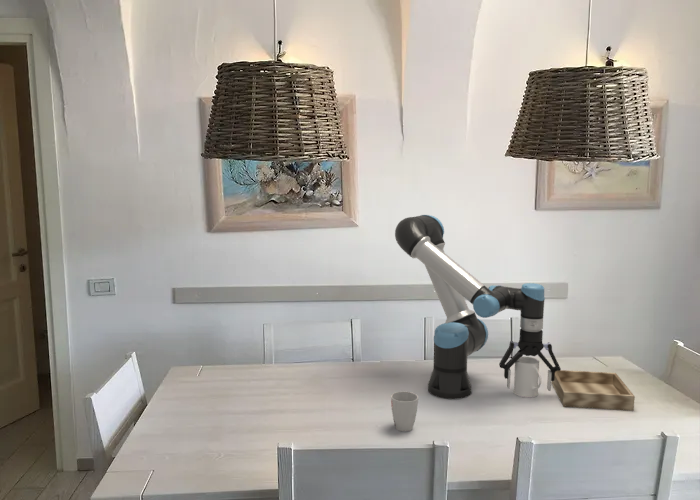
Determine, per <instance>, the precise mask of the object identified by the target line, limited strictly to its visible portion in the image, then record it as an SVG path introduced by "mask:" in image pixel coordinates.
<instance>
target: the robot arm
mask: <svg viewBox="0 0 700 500" xmlns="http://www.w3.org/2000/svg"><path fill="white" fill-rule="evenodd" d="M443 225H444V224H443V223H442V221H441V220H440V219H439V218H437V217H435V216H433V215H430V214H421V215H417V216H409V217H405V218H403V219H402V220H400V221H399V222H398V224H397V225H396V228H395V230H394V237H395V240H396V243H397V244H398V246H399V247H400V248H401V250H402V251H403V252H405V254H407V255H408V256H409V257H411V258H412V259H418V260H419V261H420V262H421V263H422V264H424V267H425V269H426V272H427V273H428V276H429V278H430V281H431V283H432V286H433V288H434V290H435V293H436V296H437V297H438V300H439V303H440V305H441V306H442V309H443V311H444V314H445V316H446V320H445V322H444V323H442V324H439V325H438V326H436V327H435V329H434V334H433V366H432V367H433V368H432V372H431V375H430V377H429V381H428V383H427V392H428V393H430V395H432V396H434V397H437V398H440V399H445V400H459V399H465V398H468V397H469V396H471V395H472V383H471V380H470V376H469V374H468V356H471V355H472V354H474V353H475V352H478V351H480V350H481V349H482V348H483V347H484V346H485V345H486V343H487V341H488V340H489V330H488V327H487V325H486V324H485V322H484V321H483V320H481V319H480V318H484V319H485V318H490V317H494V316H496V315H497V314H498V313H500V312H502V311H505V310H514V311H520V320H519V327H520V329H519V338H518V339H519V340H518V342H516V341H513V340H510V341H509V345H508V348H507V350H506V351H505V353H504V354H503V357H502V358H501V360H500V362H499V364H498V365H499V368H500V369H503V370H504V371H503V376H504V379H506V388H507V389H511V367H512V366H514V365H515V362H516V361H517V360H518V359H519V358H520V357H523V356H525V357H536V356H538V357H539V359H540V360H542V362H543V363H544V364H545V365H546V367H547V368H548V370H547V383H546V384H547V385H546V389H547V391H548V392H551V391H552V390H551V389H552V383H551V382H552V381H554V378H555V372H556V371H560V370H562V369H561V366H560V364H559V362H558V360H557V358H556V356H555V353H554V351H553V345H552V343H551V342H547V343H543V335H544V334H543V333H544V331H543V329H544V309H545V299H546V297H545V287H544V285H542V284H541V283H534V282H533V283H531V282H529V283H528V282H525V283H523V284H522V285H521V287H518V288H517V287H509V286H503V285H494V284H493V285H490V286H489V287H487V286H485V285H484V284H483V283H482V282H481V281H480V280H478V278H476V277H475V276H473V274H471V273H470V272H469V271H468V270H466V269H465V268H464V267H462V266H461V265H460V264H459V263H458V262H456V261H455V260H454V259H453V258H451V257H450V256H449V255H448V254H447V253H445V251H444V248H445V244H446V242H445V240H444V234H445V229H444V226H443ZM466 301H468V302H469V303H470V304H472V307H473V308H472V309H473V310H471V309H470V308H469V307H468V303H467V302H466ZM477 316H478V317H480V318H478V317H477ZM517 347H518V351H517V352H516V353H515V354H514V355H513V356H512V357H511V355H512V353H513V351H514V350H515V349H516V348H517ZM543 349H545V350H546V351H547V352H548V354H549V356H550V358H551V360H552V362H553V365H554V366H553V365H552V364H551V363H550V361H549V360H548V359H547V358H546V357H545V355H544V354H543V353H542V351H543ZM510 357H511V358H510ZM509 358H510V359H509Z"/></svg>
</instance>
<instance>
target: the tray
mask: <svg viewBox="0 0 700 500" xmlns="http://www.w3.org/2000/svg"><path fill="white" fill-rule="evenodd" d="M551 386H552V387H553V389H554V391H555V393H556V396H557V397H558V399H559V401H560V403H561V405H562V407H565V408H578V409H596V410H597V409H598V410H610V411H613V410H615V411H627V412H628V411H629V412H633V411H635V410H634V409H635V398H636V397H635V395H634V393H633V392H632V391H631V390H630V389H629V387H628V386H627V385H626V384H625V382H624V381H623V380H622V378H620V376H619V375H618V374H617V373H616V372H608V371H607V372H606V371H605V372H604V371H603V372H602V371H587V370H586V371H585V370H567V369H566V370H564V369H563V370H562V369H561V370H560V371H556V372H555V378H554V381H551Z"/></svg>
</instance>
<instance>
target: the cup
mask: <svg viewBox="0 0 700 500" xmlns="http://www.w3.org/2000/svg"><path fill="white" fill-rule="evenodd" d="M390 402H391V413H392V420H393V423H394V426H395V429H396V430H397V431H399V432H410V431H412V430H413V428H414V425H415V422H416V419H417V418H416V416H417V414H418V413H417V412H418V404H419V395H418V394H416V393H414V392H412V391H411V392H410V391H405V390H404V391H403V390H401V391H397V392H393V393H392V394H391V396H390Z"/></svg>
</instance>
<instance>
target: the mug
mask: <svg viewBox="0 0 700 500" xmlns="http://www.w3.org/2000/svg"><path fill="white" fill-rule="evenodd" d="M513 376H514V378H513V390H512V393H513V394H514V395H516V396H518V397H521V398H530V399H531V398H535V397H537V396H539V389H540V388H541V386H542V375H541V373H540V360H539V359H537V358H535V357H534V356H526V355H523V356H522V357H520V358H519V359H518V360H517V361H516V362H515V363H514V375H513Z"/></svg>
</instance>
